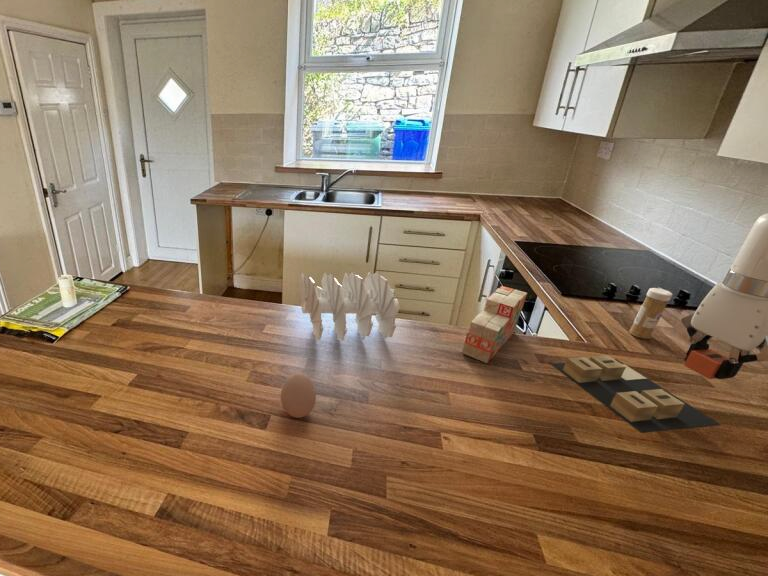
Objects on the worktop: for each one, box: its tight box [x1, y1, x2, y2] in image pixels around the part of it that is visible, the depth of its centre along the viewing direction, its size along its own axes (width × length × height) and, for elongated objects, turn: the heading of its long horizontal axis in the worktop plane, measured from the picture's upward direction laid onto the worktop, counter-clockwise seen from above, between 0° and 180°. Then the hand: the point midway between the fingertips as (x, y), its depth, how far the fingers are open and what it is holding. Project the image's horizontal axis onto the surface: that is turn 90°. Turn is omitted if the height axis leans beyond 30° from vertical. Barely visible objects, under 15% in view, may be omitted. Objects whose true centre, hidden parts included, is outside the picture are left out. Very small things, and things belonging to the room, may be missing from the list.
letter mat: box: [550, 358, 722, 434], centre depth 87 cm, size 18×22×1 cm
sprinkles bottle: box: [628, 287, 673, 340], centre depth 107 cm, size 5×5×13 cm
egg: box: [280, 372, 317, 419], centre depth 78 cm, size 7×7×10 cm
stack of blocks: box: [461, 285, 528, 364], centre depth 102 cm, size 21×6×12 cm, turn 135°
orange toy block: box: [683, 348, 729, 380], centre depth 78 cm, size 4×4×4 cm
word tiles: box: [563, 354, 684, 422], centre depth 86 cm, size 10×16×4 cm, turn 7°
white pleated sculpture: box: [298, 270, 400, 342], centre depth 104 cm, size 18×18×25 cm
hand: (707, 368), depth 78 cm, fingers closed on orange toy block, 4 cm apart
